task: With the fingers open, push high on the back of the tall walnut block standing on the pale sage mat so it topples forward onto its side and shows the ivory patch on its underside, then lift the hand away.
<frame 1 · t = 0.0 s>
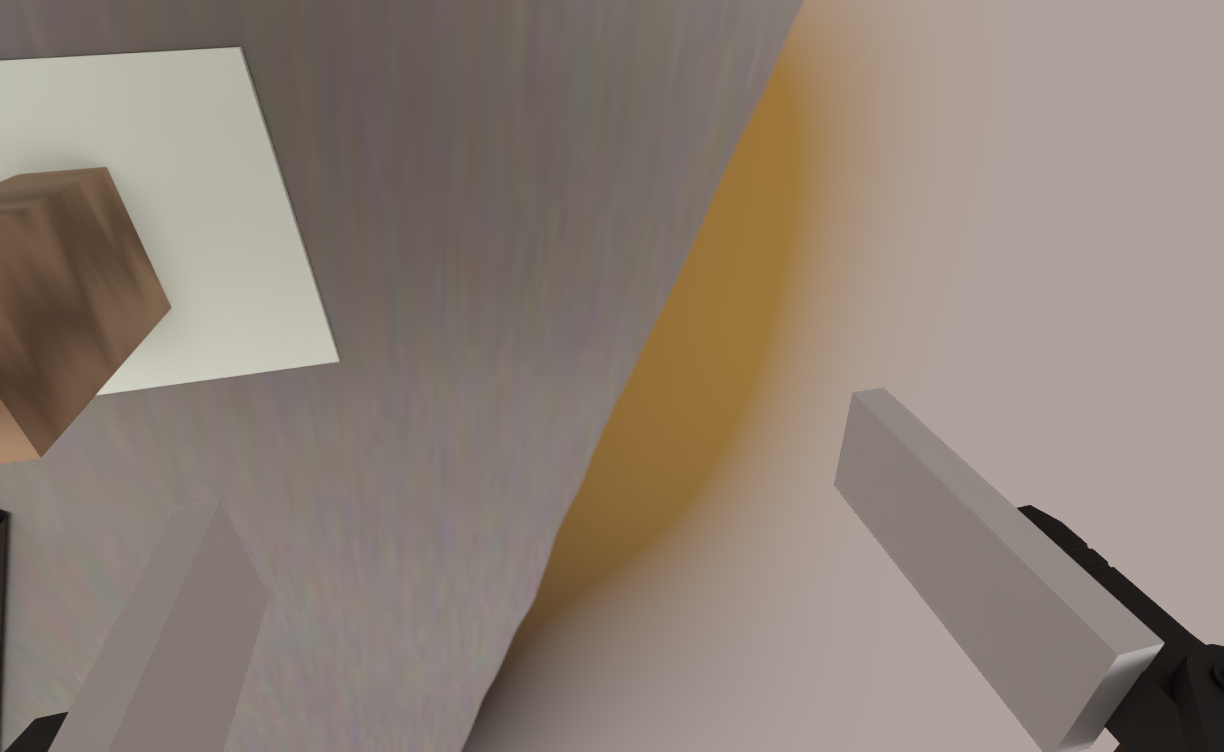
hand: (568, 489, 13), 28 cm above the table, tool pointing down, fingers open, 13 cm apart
walnut block: (100, 245, 34), resting on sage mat
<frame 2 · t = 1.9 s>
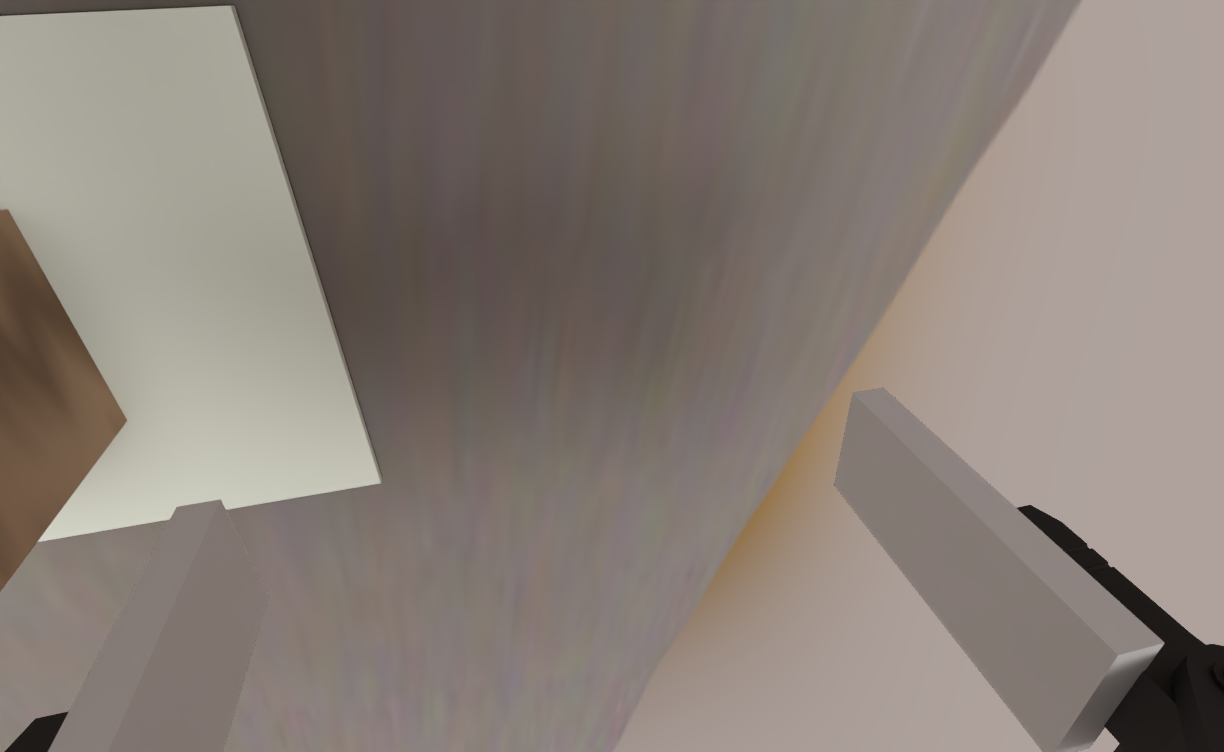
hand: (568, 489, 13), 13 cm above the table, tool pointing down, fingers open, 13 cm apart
walnut block: (6, 333, 21), resting on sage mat
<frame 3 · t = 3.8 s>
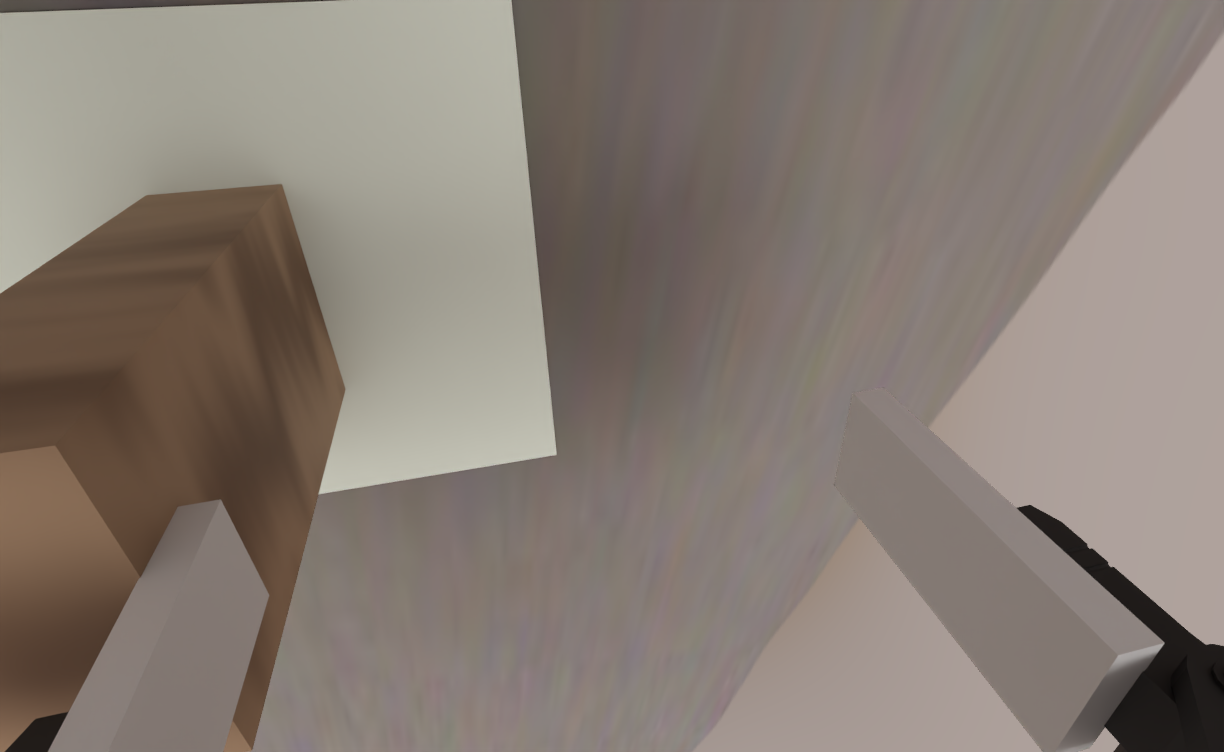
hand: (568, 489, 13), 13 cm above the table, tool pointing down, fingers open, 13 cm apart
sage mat: (104, 316, 21), on the table
walnut block: (257, 303, 22), resting on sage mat, touching gripper
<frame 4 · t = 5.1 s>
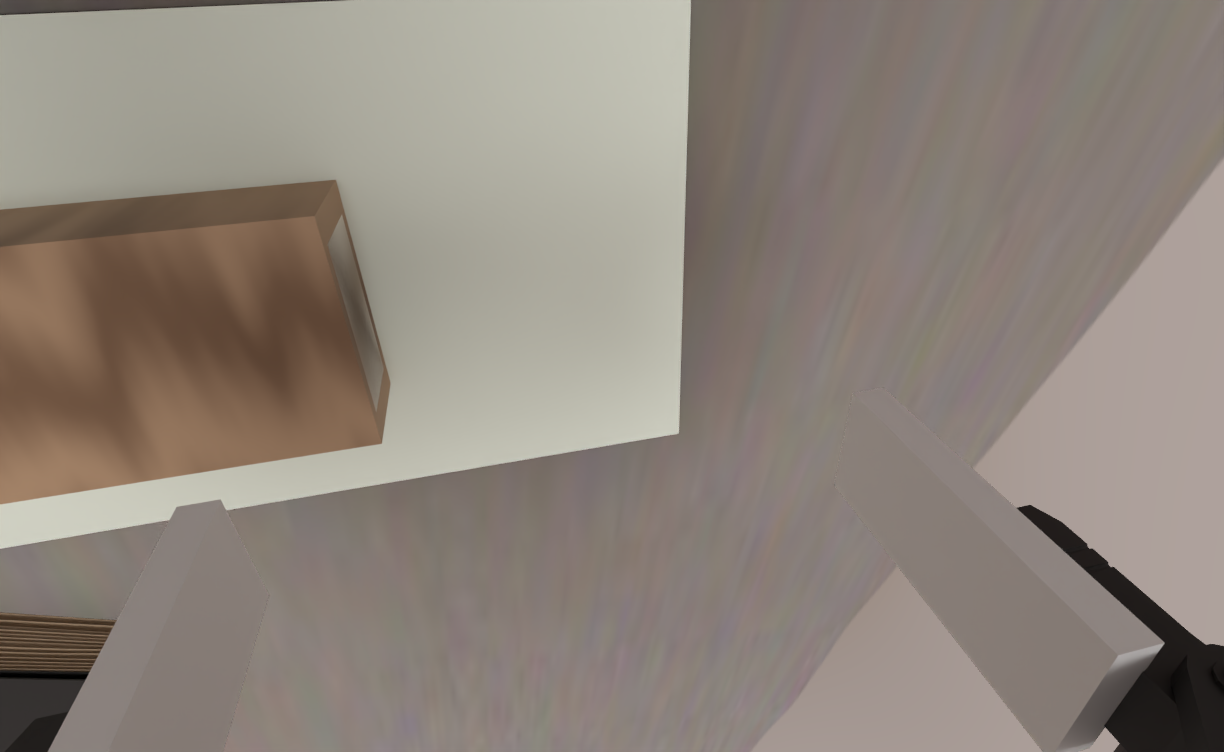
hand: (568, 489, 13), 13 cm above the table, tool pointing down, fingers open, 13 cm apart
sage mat: (284, 296, 22), on the table
walnut block: (359, 314, 21), point 2 cm above the table, tilted 90°, touching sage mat
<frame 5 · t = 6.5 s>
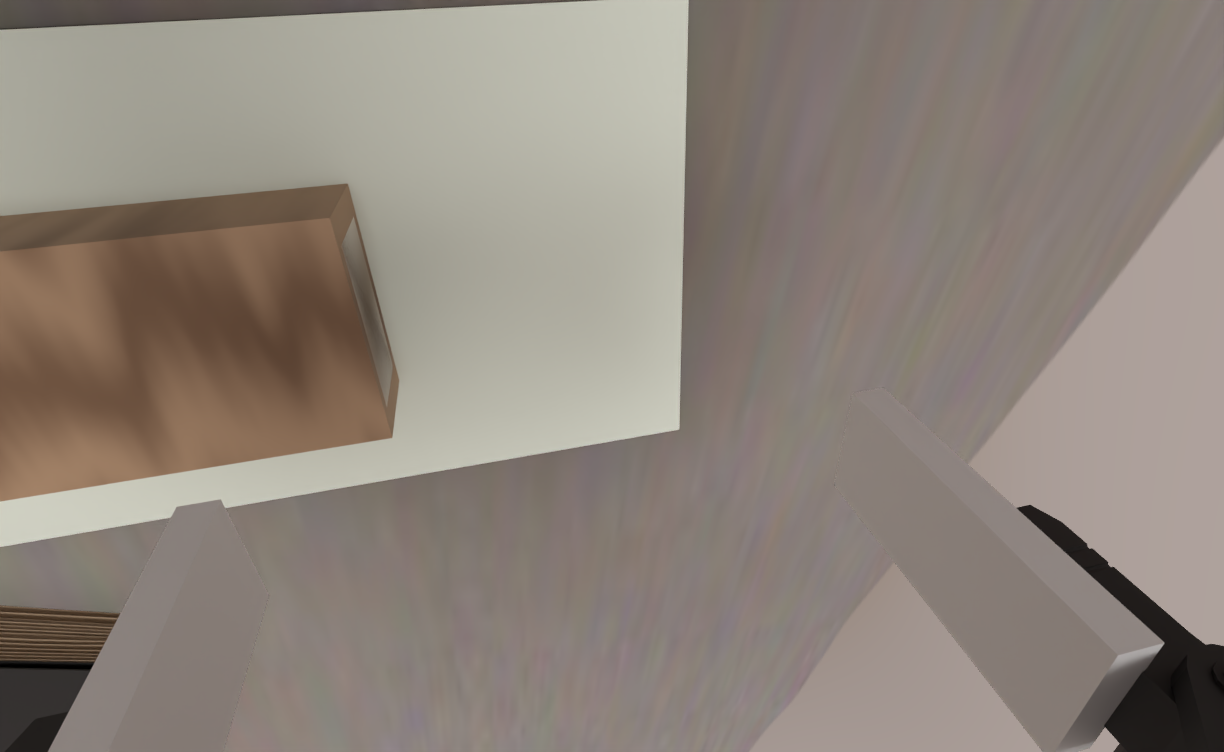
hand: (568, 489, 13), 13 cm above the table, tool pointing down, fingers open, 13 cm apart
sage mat: (297, 296, 23), on the table
walnut block: (370, 313, 22), point 2 cm above the table, tilted 90°, touching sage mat
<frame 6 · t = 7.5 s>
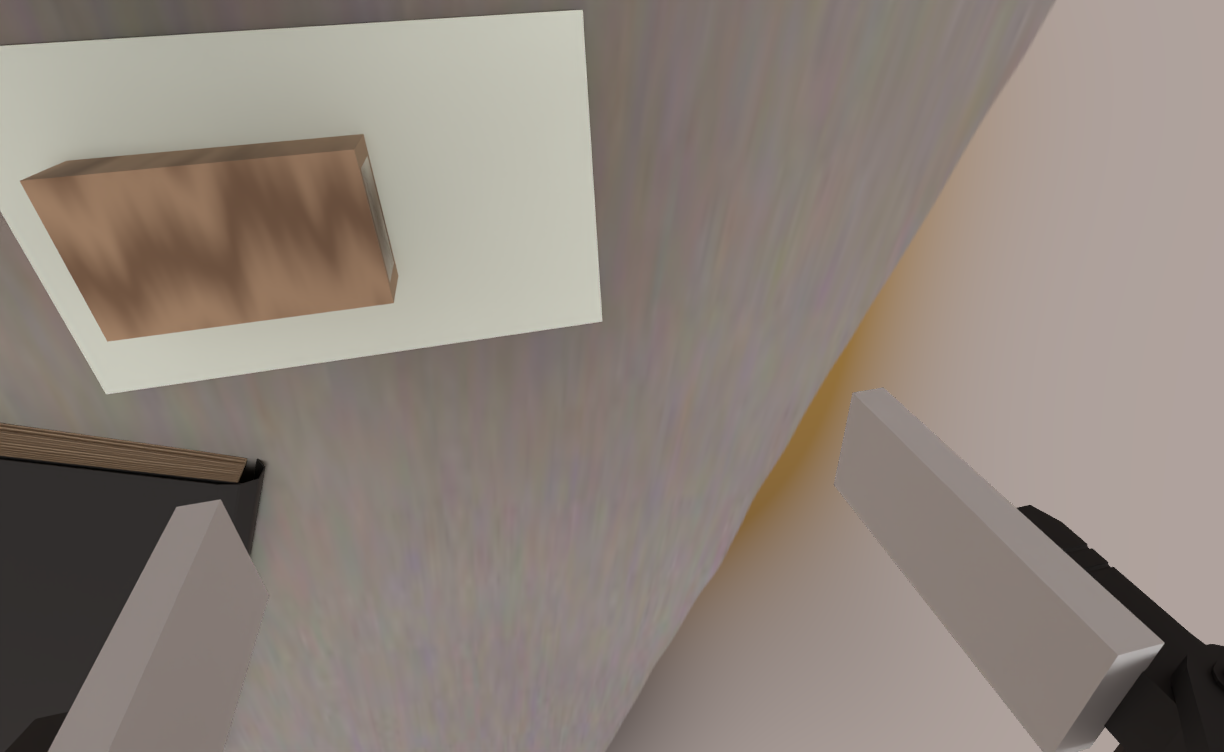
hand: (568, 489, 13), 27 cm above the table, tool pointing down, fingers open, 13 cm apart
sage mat: (329, 212, 35), on the table
file folder: (54, 605, 45), on the table
walnut block: (378, 219, 33), point 2 cm above the table, tilted 90°, touching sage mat
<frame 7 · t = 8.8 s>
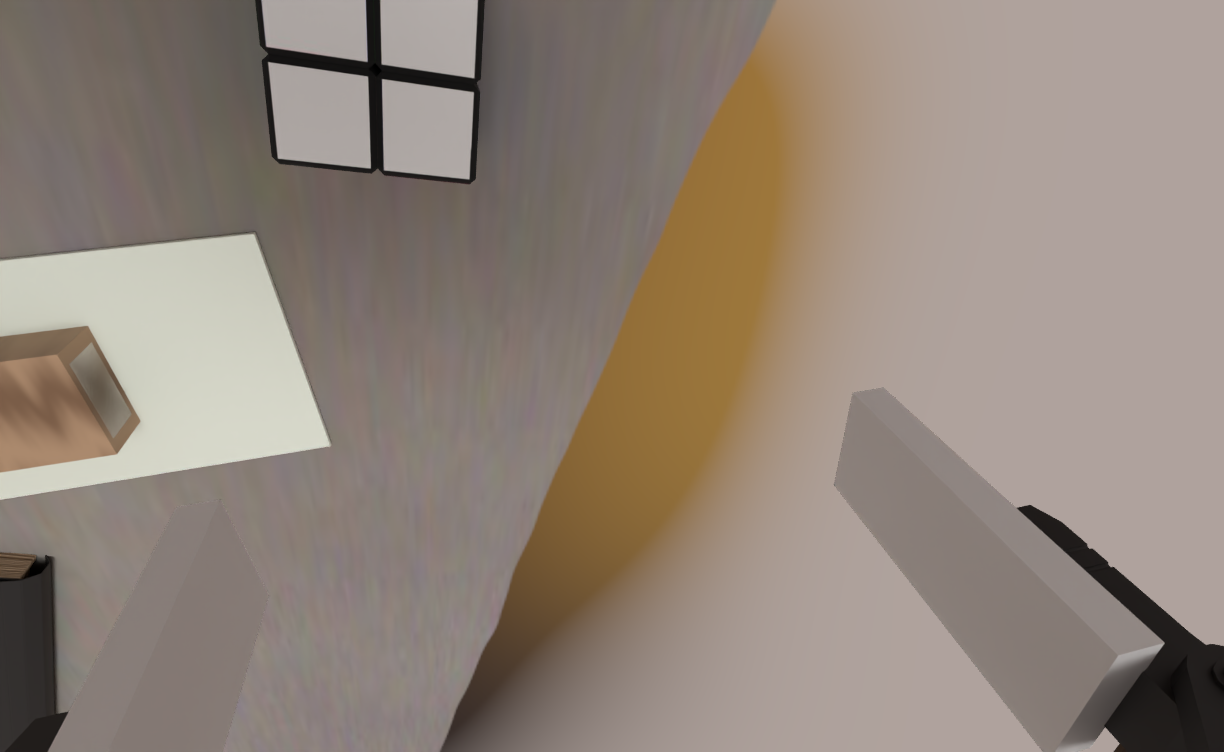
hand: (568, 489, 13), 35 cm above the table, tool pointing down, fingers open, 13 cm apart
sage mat: (73, 379, 44), on the table
puzzle cube: (390, 53, 38), on the table
walnut block: (102, 390, 42), point 2 cm above the table, tilted 90°, touching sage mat
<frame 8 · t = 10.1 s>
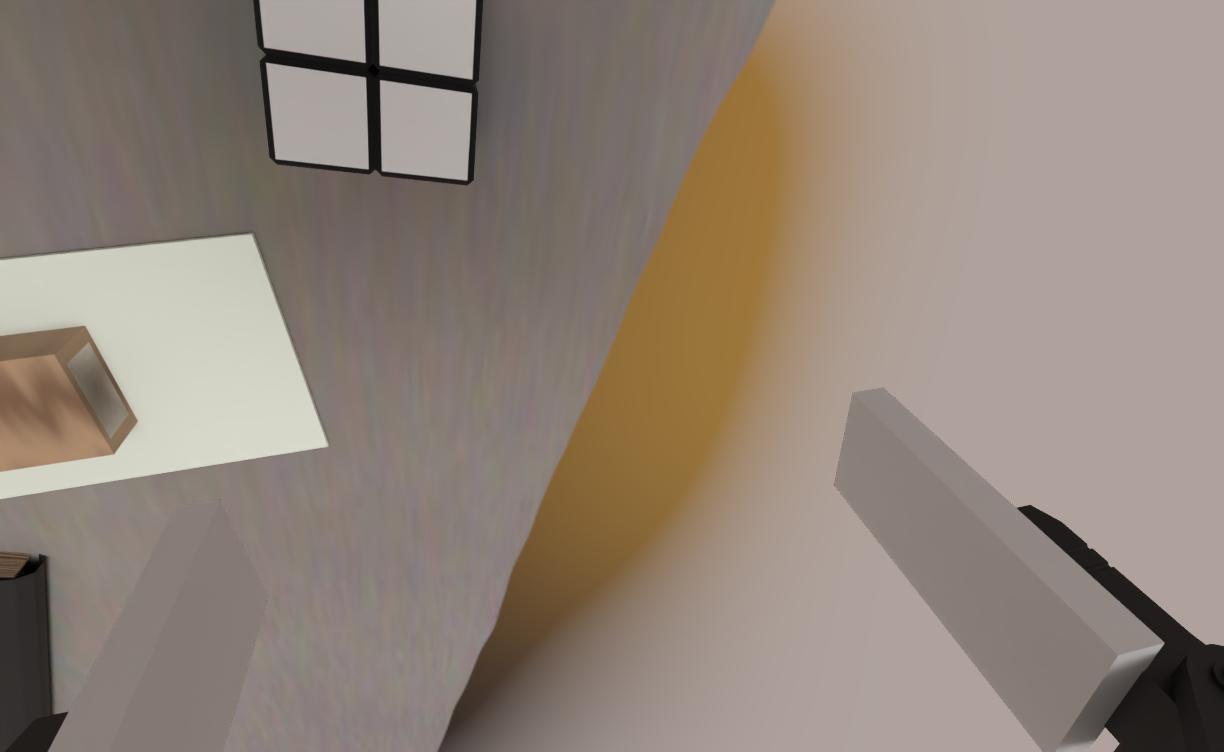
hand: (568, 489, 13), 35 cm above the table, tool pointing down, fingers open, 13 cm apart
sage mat: (70, 378, 44), on the table
puzzle cube: (389, 54, 38), on the table
walnut block: (99, 390, 42), point 2 cm above the table, tilted 90°, touching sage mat
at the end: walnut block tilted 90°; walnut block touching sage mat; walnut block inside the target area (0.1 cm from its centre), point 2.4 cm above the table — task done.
